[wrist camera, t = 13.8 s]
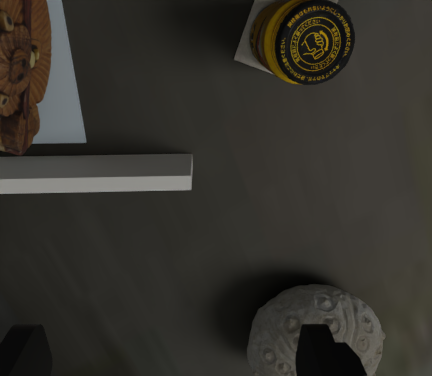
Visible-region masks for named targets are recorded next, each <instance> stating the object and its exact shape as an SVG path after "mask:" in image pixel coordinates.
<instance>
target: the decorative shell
mask: <svg viewBox="0 0 432 376" xmlns="http://www.w3.org/2000/svg"><path fill="white" fill-rule="evenodd" d="M302 324H327V325H328V326H329V328H330V330H331V333H332V335H333V338H334V340H335V342H346V343H347V344H348V345H349V346H350V347H351V348H352V350H353V351H354V352H355V353H356V354H357V355H358V356H359V357H360V360H361V362H362V364H363V366H364V369H365V371H366V373H367V376H375V371H376V369H377V367H378V364H379V362H380V359H381V356H382V348H383V345H382V343H383V340H384V339H385V338H386V335H385V333H384V332H383V331H382V330H381V325H380V323H379V320H378V318H377V317H376V316H375V314H374V312H373V310H372V309H371V308H370V307H369V306H368V305H366V304H365V303H364V302H363V301H361V300H360V299H358V298H357V297H355V296H354V295H352V294H350V293H348V292H345V291H343V290H341V289H338V288H336V287H333V286H330V285H319V284H309V285H304V286H303V285H299V286H295V287H292V288H290V289H287V290H284V291H282V292H281V293H279V294H278V295H277V296H276V297H275V298H273V299H271V300H269V301H268V302H267V303H266V304H265V305H264V306H263V307H261V308H259V309H258V311H257V313H256V315H255V317H254V319H253V321H252V329H251V331H250V336H249V343H248V347H247V358H248V362H249V364H250V366H251V369H252V370H253V373H254V375H255V376H297V374H296V365H295V357H296V351H297V346H298V340H299V335H300V330H301V326H302Z"/></svg>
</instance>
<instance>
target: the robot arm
mask: <svg viewBox="0 0 432 376" xmlns="http://www.w3.org/2000/svg"><path fill="white" fill-rule="evenodd" d="M295 365H296V374H297V376H367V373H366V371H365V369H364V366H363V364H362V362H361V360H360V357H359V356H358V355H357V354H356V353H355V352H354V351H353V350H352V348H351V347H350V346H349V345H348V344H347V343H346V342H335V340H334V338H333V335H332V333H331V330H330V328H329V326H328V325H327V324H302V326H301V330H300V335H299V340H298V346H297V351H296V357H295ZM51 370H52V355H51V351H50V348H49V344H48V341H47V337H46V334H45V330H44V327H43V326H42V325H41V324H21V325H14V326H12V327H11V328H10V330H9V331H8V333H7V334H6V336H5V338H4V339H3V341H2V342H1V344H0V376H50V374H51Z"/></svg>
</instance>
